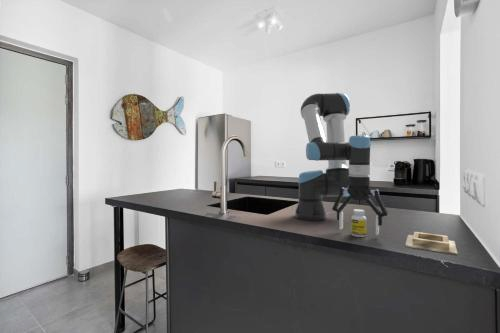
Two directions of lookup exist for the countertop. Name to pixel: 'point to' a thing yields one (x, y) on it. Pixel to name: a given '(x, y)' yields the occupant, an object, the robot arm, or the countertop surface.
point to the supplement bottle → (358, 223)
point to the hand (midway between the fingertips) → (358, 231)
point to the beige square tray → (431, 242)
